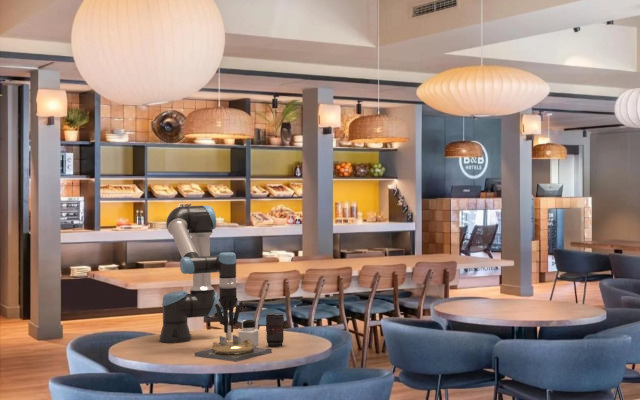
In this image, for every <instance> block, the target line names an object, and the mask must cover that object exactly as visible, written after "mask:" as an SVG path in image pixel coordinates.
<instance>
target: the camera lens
mask: <svg viewBox="0 0 640 400" xmlns="http://www.w3.org/2000/svg"><path fill="white" fill-rule="evenodd" d="M265 320H266V321H265V323H266V324H265V325H266V328H265V332H266V344H267V347H269V348H280V347H283V343H284V337H285V335H284V326H285V325H284V323H285V318H284V313H281V312H268V313H266V318H265Z"/></svg>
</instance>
